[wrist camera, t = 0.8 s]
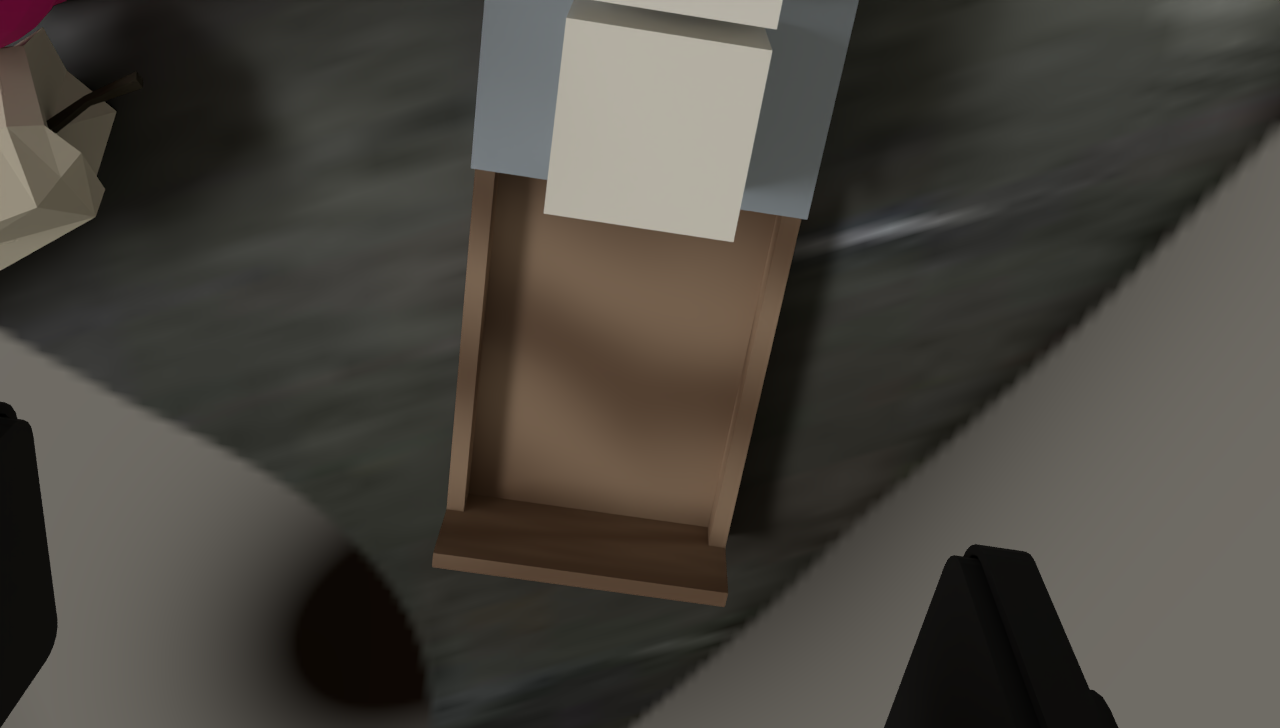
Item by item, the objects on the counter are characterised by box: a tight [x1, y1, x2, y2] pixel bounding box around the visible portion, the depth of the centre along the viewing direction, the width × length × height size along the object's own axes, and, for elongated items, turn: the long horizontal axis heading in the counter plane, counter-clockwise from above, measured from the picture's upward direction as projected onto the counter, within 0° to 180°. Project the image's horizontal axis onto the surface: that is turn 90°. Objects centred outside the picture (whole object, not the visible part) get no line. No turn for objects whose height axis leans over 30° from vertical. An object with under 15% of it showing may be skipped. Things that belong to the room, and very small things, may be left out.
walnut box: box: [432, 169, 801, 607], centre depth 37 cm, size 14×10×4 cm
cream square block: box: [544, 0, 772, 242], centre depth 30 cm, size 5×5×4 cm
